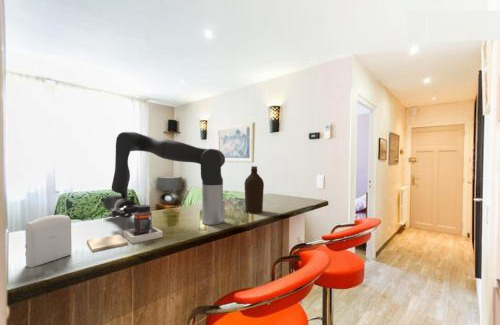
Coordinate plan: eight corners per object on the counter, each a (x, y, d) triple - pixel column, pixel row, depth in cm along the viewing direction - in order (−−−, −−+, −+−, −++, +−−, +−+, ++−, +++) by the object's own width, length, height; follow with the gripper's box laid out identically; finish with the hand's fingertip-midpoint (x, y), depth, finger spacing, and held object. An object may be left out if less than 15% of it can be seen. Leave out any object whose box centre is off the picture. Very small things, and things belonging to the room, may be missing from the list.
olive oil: (252, 214, 125) (253, 166, 125) (240, 211, 134) (240, 166, 133) (267, 212, 132) (267, 166, 132) (255, 209, 140) (255, 166, 140)
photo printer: (30, 269, 62) (31, 220, 62) (22, 266, 64) (22, 219, 63) (74, 254, 71) (74, 213, 71) (65, 252, 73) (65, 211, 73)
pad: (119, 236, 88) (119, 234, 88) (127, 244, 80) (127, 242, 80) (86, 242, 82) (86, 240, 82) (92, 251, 74) (92, 249, 74)
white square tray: (152, 230, 96) (152, 225, 96) (162, 237, 88) (162, 231, 88) (123, 235, 89) (123, 230, 89) (131, 243, 81) (131, 237, 81)
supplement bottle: (155, 236, 89) (155, 205, 89) (139, 240, 84) (140, 208, 84) (145, 233, 93) (145, 203, 93) (130, 237, 88) (130, 206, 88)
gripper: (106, 200, 103) (115, 206, 90) (141, 197, 112) (154, 202, 100) (106, 218, 103) (115, 226, 90) (141, 213, 112) (154, 220, 100)
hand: (136, 213), depth 95 cm, fingers open, 8 cm apart
